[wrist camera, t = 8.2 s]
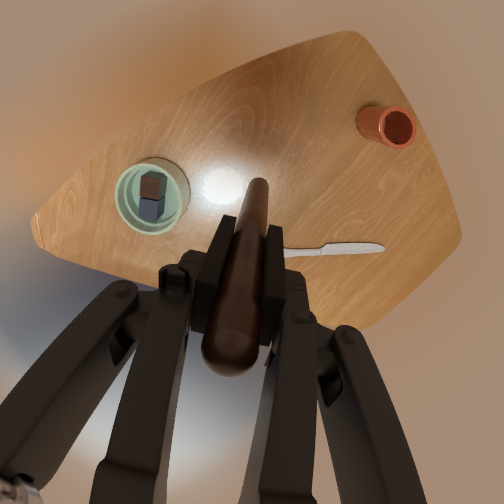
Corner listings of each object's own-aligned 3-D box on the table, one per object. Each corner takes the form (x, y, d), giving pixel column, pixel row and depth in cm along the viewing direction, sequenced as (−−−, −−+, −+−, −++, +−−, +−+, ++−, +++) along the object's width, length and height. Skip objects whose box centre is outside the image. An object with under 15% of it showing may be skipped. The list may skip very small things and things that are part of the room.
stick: (251, 173, 27) (197, 346, 8) (270, 177, 27) (263, 359, 8) (247, 191, 28) (194, 380, 9) (266, 196, 28) (250, 391, 9)
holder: (360, 101, 35) (384, 99, 26) (391, 113, 35) (420, 117, 27) (352, 132, 38) (373, 139, 29) (382, 144, 38) (409, 155, 29)
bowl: (130, 153, 42) (116, 159, 37) (195, 163, 42) (186, 170, 38) (127, 216, 48) (114, 227, 43) (186, 229, 48) (178, 242, 44)
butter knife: (257, 246, 48) (258, 261, 50) (386, 242, 46) (384, 256, 47) (257, 245, 49) (258, 259, 50) (385, 241, 46) (383, 255, 48)
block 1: (149, 170, 43) (140, 175, 40) (167, 173, 43) (160, 179, 40) (147, 189, 44) (139, 196, 41) (165, 193, 44) (158, 199, 41)
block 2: (147, 191, 44) (139, 197, 41) (165, 195, 45) (158, 201, 42) (146, 209, 46) (138, 217, 43) (164, 213, 46) (156, 221, 43)
